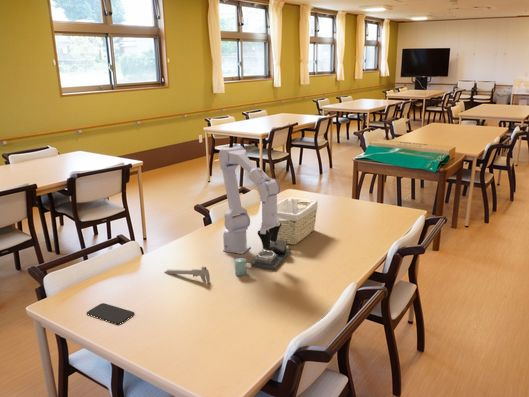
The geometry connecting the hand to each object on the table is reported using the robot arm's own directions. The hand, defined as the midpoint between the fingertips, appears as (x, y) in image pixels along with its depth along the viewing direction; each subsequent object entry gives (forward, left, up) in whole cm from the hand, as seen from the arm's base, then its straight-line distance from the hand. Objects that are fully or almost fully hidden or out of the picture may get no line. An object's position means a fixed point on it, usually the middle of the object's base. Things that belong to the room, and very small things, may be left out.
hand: (270, 244), depth 173 cm
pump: (-8, -10, -9) cm, 15 cm away
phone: (-35, -51, -10) cm, 62 cm away
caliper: (-26, -20, -10) cm, 34 cm away
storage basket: (-3, +34, -10) cm, 36 cm away
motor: (-3, +6, -9) cm, 12 cm away
